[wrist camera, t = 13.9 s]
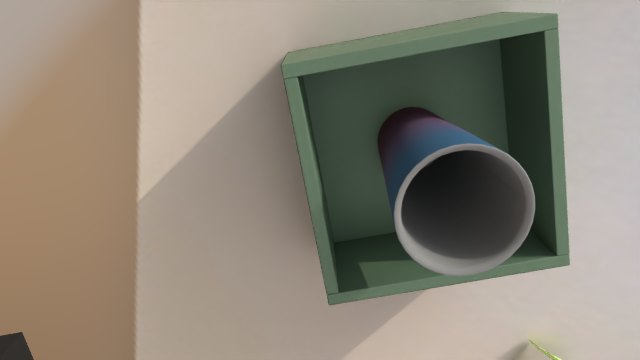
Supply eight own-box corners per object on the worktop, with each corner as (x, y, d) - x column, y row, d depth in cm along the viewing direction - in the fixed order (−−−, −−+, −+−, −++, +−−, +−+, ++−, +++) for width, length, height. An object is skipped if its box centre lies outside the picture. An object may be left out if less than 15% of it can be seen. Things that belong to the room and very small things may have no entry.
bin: (287, 52, 40) (280, 65, 31) (504, 11, 39) (557, 13, 31) (325, 247, 44) (328, 305, 36) (519, 214, 44) (570, 265, 35)
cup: (375, 192, 42) (407, 289, 28) (356, 106, 40) (380, 161, 26) (463, 173, 42) (543, 260, 27) (449, 84, 40) (526, 128, 25)
